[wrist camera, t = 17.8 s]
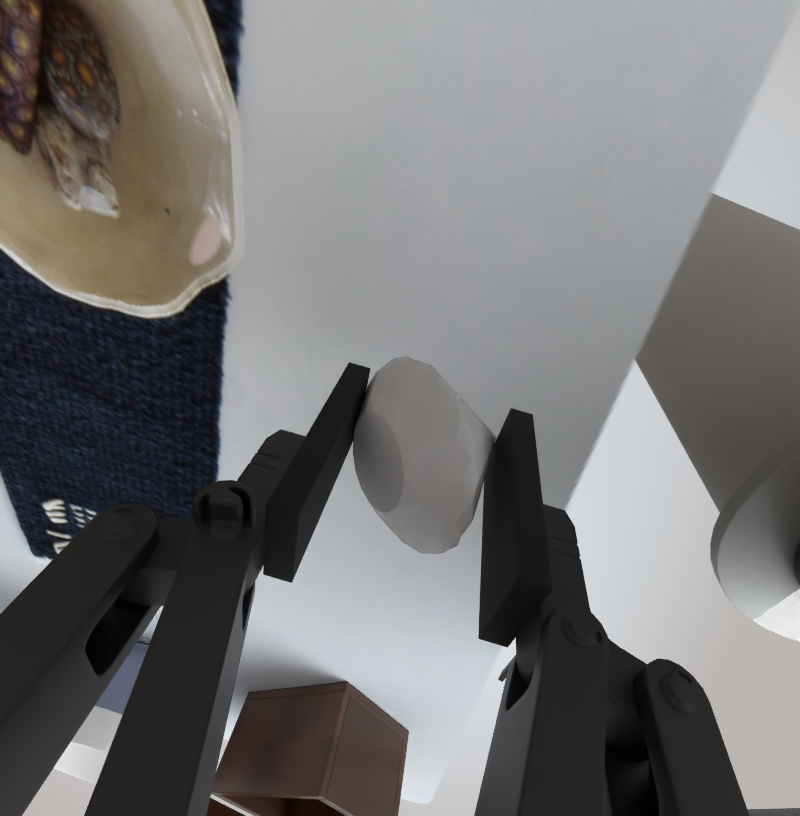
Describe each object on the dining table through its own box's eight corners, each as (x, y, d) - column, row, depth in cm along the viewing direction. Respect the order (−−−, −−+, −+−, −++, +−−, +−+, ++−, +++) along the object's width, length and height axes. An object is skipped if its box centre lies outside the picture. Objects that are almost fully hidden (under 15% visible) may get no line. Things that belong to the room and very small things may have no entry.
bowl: (82, 658, 52) (11, 755, 44) (94, 605, 43) (7, 716, 35) (205, 707, 55) (158, 807, 47) (241, 668, 45) (191, 784, 38)
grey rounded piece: (531, 559, 15) (411, 612, 12) (430, 458, 19) (325, 481, 17) (601, 402, 12) (465, 427, 9) (464, 326, 16) (344, 327, 14)
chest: (347, 681, 43) (319, 796, 36) (409, 731, 48) (394, 841, 41) (248, 692, 49) (207, 792, 42) (311, 735, 54) (284, 831, 47)
